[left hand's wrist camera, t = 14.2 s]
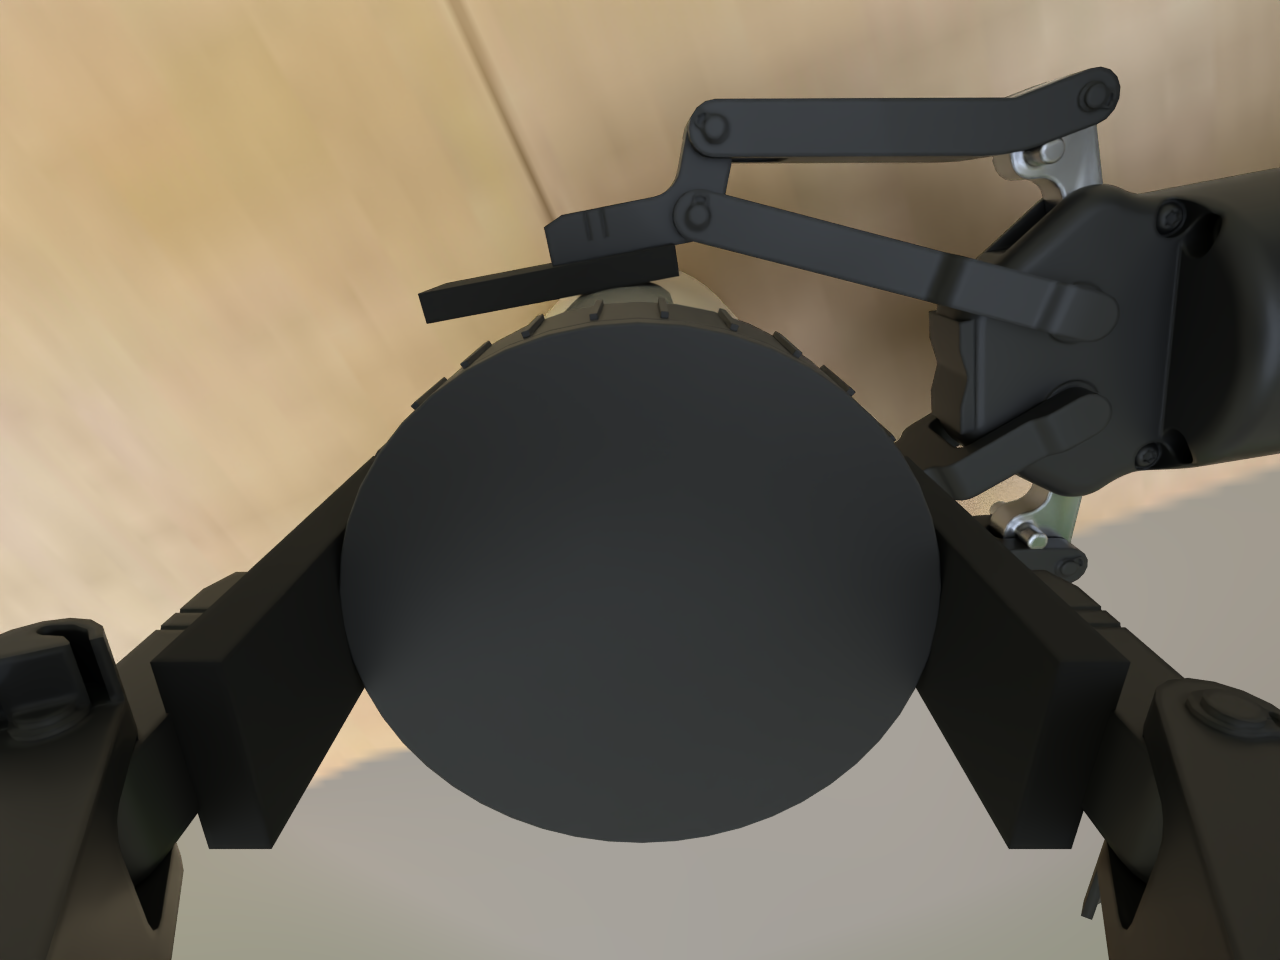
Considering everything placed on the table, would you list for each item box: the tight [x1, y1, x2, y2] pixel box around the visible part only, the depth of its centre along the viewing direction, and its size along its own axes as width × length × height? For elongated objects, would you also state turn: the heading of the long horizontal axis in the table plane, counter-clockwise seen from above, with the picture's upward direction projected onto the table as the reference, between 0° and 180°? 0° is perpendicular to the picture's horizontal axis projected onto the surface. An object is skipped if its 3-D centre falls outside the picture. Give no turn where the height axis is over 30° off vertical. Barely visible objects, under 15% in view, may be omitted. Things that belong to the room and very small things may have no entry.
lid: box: [339, 298, 941, 843], centre depth 11 cm, size 9×9×2 cm
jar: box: [544, 271, 738, 320], centre depth 18 cm, size 8×8×16 cm
